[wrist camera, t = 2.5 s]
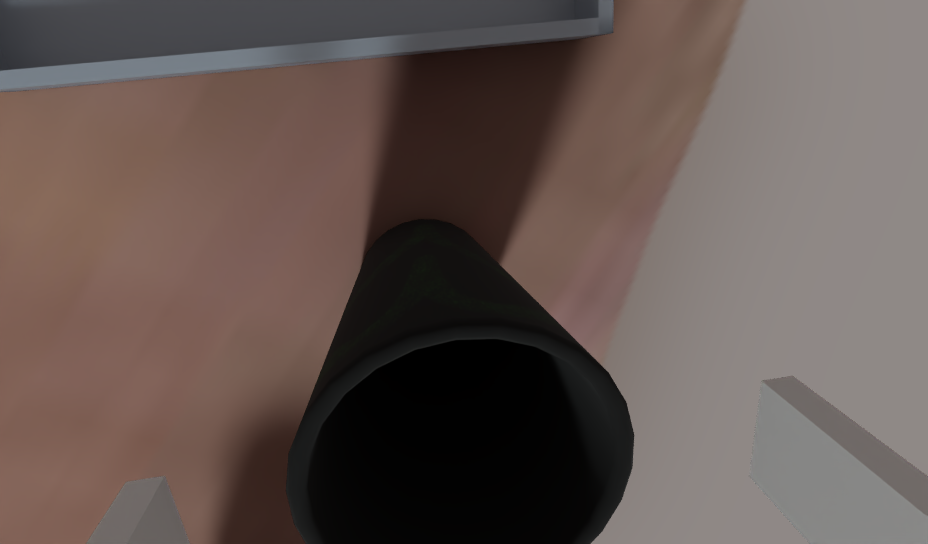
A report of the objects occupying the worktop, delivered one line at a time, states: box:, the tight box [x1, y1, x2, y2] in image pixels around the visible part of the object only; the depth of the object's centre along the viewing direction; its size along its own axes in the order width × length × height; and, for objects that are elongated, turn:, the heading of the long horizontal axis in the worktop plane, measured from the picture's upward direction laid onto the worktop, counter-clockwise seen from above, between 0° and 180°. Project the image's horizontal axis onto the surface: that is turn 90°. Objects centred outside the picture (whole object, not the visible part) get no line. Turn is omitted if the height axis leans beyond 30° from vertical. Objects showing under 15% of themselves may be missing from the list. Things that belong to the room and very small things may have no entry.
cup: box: [286, 219, 634, 544], centre depth 17 cm, size 8×8×12 cm
